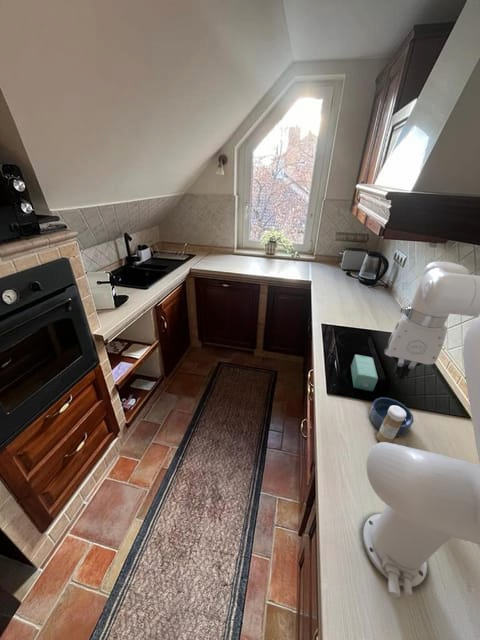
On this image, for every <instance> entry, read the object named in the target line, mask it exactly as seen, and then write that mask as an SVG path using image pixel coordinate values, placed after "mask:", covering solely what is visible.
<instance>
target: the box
mask: <svg viewBox="0 0 480 640" xmlns="http://www.w3.org/2000/svg"><path fill="white" fill-rule="evenodd" d="M350 372H351V378H352V386H353V388H354V389H358V390H362V391H363V390H364V391H369V392H374V390H375V388H376V385H377V383H378V380H379V377H378V373H377V369H376V365H375V361H374V358H373V357H372V356H371V357H370V356H366V355H360V354H354V357H353V358H352V363H351V364H350Z"/></svg>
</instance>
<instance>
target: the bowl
mask: <svg viewBox="0 0 480 640" xmlns="http://www.w3.org/2000/svg"><path fill="white" fill-rule="evenodd" d="M393 405H395V406H399V407H401V408H402V409H404V410H405V412H406V418H405V420H404V421H403V422H402V424H401V426H400V428H399V430H398V432H397V434H396V436H395V437H403V436H405V435H407V434H408V432H409V430H410V429H411V427H412V425H413V424H414V422H415V421H414V415H413V414H412V411H411V410H410V409H409V408H408V407H406V406H405V404H403V403H401V402H400V401H398V400H396V399H393V398H390V397H378V398H375V399H374V401H372V404H371V406H370V408H369V410H368V411H369V412H368V417H369V420H370V421H371V423H372V424H373V425H374V426H375V427H376V428H377V429H379V430H380V427H381V425H382V423H383V421H384V419H385V417H386V415H387V413H388V409H389V407H390V406H393Z"/></svg>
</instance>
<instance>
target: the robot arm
mask: <svg viewBox="0 0 480 640" xmlns="http://www.w3.org/2000/svg"><path fill="white" fill-rule="evenodd" d="M400 313H401V314H403V315H402V316H401V317H400V318H399V320H398V322H397V323H396V325H395V327H394V328H393V331H392V333H391V334H390V337H389V338H388V341H387V342H388V343H387V346H386V347H385V349H384V350H383V352H384V355H386V356H387V357H390V358H392V359H393V360H394V361H395V363H396V364H395V365H394V369H393V374H395V379H396V380H401V381H404V380H405V378H406V377H408V376H409V374H410V372H411V370H414V369H415V367H418V366H421V365H423V366H433V365H434V364H435V363H436V362H437V360H438V358H439V356H440V353H441V352H442V349H443V346H444V343H445V340H446V336H447V332H448V327H447V325H446V322H447V321H448V318H449V316H450V315H458V316H459V315H460V316H467V317H475V318H476V319H474V320H473V321H472V322H471V323H470V325H469V326H468V329H467V331H466V333H465V336H464V339H463V346H462V348H463V349H462V357H463V369H464V376H465V382H466V388H467V394H468V402H469V407H470V412H471V420H472V421H471V422H472V427H473V433H474V434H473V435H474V440H475V441H474V442H475V446H476V453H477V458H478V461H479V463H480V275H475V274H474V275H473V274H470V271H469V269H468V268H467V267H465V266H464V265H461V264H458V263H455V262H450V261H441V260H440V261H432V262H430V263H428V264H427V265H426V266H425V268H424V270H423V272H422V274H421V277H420V280H419V281H418V285H417V287H416V290H415V292H414V295H413V297H412V299H411V302H410V303H409V305H408V306H407V307H401V309H400ZM365 465H366V475H367V479H368V482H369V484H370V486H371V488H372V490H373V492H374V493H375V494H376V496H377V497H378V499H380V500H381V501H382V502H383V503H384V504H386V506H385V507H384V509H383V511H382V512H381V513H377V514H373V515H371V516H370V517H369V518H367V520H366V521H365V524H364V526H363V530H362V539H363V545H364V548H365V551H366V554H367V555H368V557H369V559H370V561H371V562H372V563H373V565H374V566H375V568H376V569H377V571H379V572H380V574H382V575H383V577H385V578H386V579H387V582H388V583H387V585H388V594H389V595H390V596H391V597H392V598H395V599H400V598H401V590H400V588H401V587H403V594H404V595H406V596H407V597H411V598H412V597H413V588H415V587H417V586H419V585H420V584H421V583H422V582H423V581H424V580H425V578H426V575H427V573H428V562H427V561H428V560H429V559H430V558H431V557H432V556H433V555H434V554H435V553H436V552H437V551H438V550H439V549H440V548H441V547H442V546H443V545H445V543H446V542H447V541H449V539H451V538H456V539H460V540H464V541H467V542H470V543H473V544H476V545H480V464H477V463H474V462H471V461H467V460H463V459H459V458H455V457H452V456H449V455H445V454H441V453H437V452H432V451H429V450H424V449H419V448H414V447H409V446H405V445H401V444H397V443H393V442H392V443H388V442H378V443H375V444H374V445H373V446H372V447H371V448H370V450H369V452H368V455H367V458H366V464H365Z"/></svg>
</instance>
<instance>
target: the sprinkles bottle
mask: <svg viewBox="0 0 480 640" xmlns="http://www.w3.org/2000/svg"><path fill="white" fill-rule="evenodd" d="M405 418H406V412H405V410H404V409H402V408H401V407H399V406H395V405H393V406H390V407H389V409H388V413H387V415H386V417H385V419H384V421H383V423H382V425H381V427H380V429H379V430H378V432H377V433H376V439H377V440H378V443H380V442H388V443H392V444H393V441H394V438H395V437H397V436H396V434H397V432H398V430H399V428H400V426H401V424H402V422H403V421H404V420H405Z"/></svg>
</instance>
